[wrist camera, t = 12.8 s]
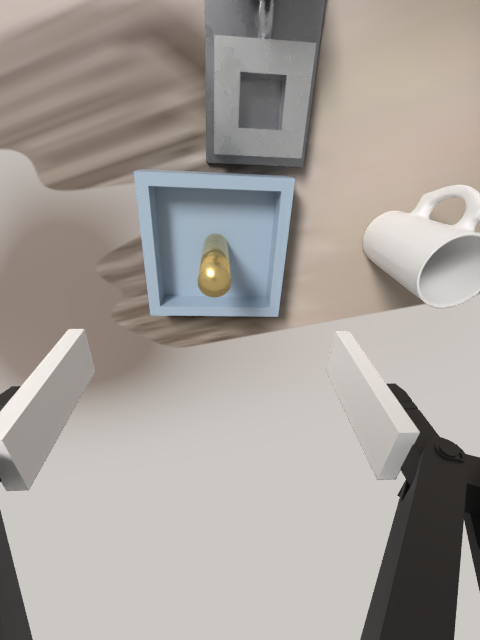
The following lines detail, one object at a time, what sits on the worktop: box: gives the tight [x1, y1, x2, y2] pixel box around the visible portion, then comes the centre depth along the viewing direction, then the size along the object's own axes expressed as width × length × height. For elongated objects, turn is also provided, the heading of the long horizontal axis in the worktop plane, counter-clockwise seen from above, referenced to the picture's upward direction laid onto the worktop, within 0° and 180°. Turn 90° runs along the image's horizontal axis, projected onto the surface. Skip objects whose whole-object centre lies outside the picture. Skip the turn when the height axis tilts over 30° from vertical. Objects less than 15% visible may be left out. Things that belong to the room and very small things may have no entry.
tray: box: [134, 169, 295, 317], centre depth 33 cm, size 15×15×4 cm
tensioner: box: [205, 0, 325, 167], centre depth 23 cm, size 17×10×8 cm, turn 177°
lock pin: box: [198, 234, 231, 298], centre depth 30 cm, size 3×3×11 cm
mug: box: [363, 185, 480, 308], centre depth 30 cm, size 10×7×12 cm, turn 163°
